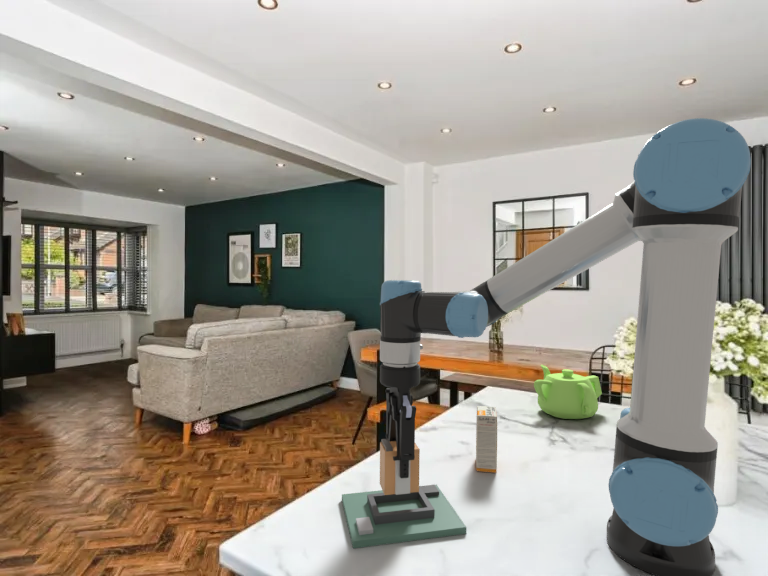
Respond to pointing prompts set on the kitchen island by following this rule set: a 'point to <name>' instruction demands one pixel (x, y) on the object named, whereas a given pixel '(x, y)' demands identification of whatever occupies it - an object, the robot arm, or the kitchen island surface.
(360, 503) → the header board
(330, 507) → the kitchen island surface
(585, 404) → the teapot
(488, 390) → the kitchen island surface
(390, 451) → the plug
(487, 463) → the supplement box
